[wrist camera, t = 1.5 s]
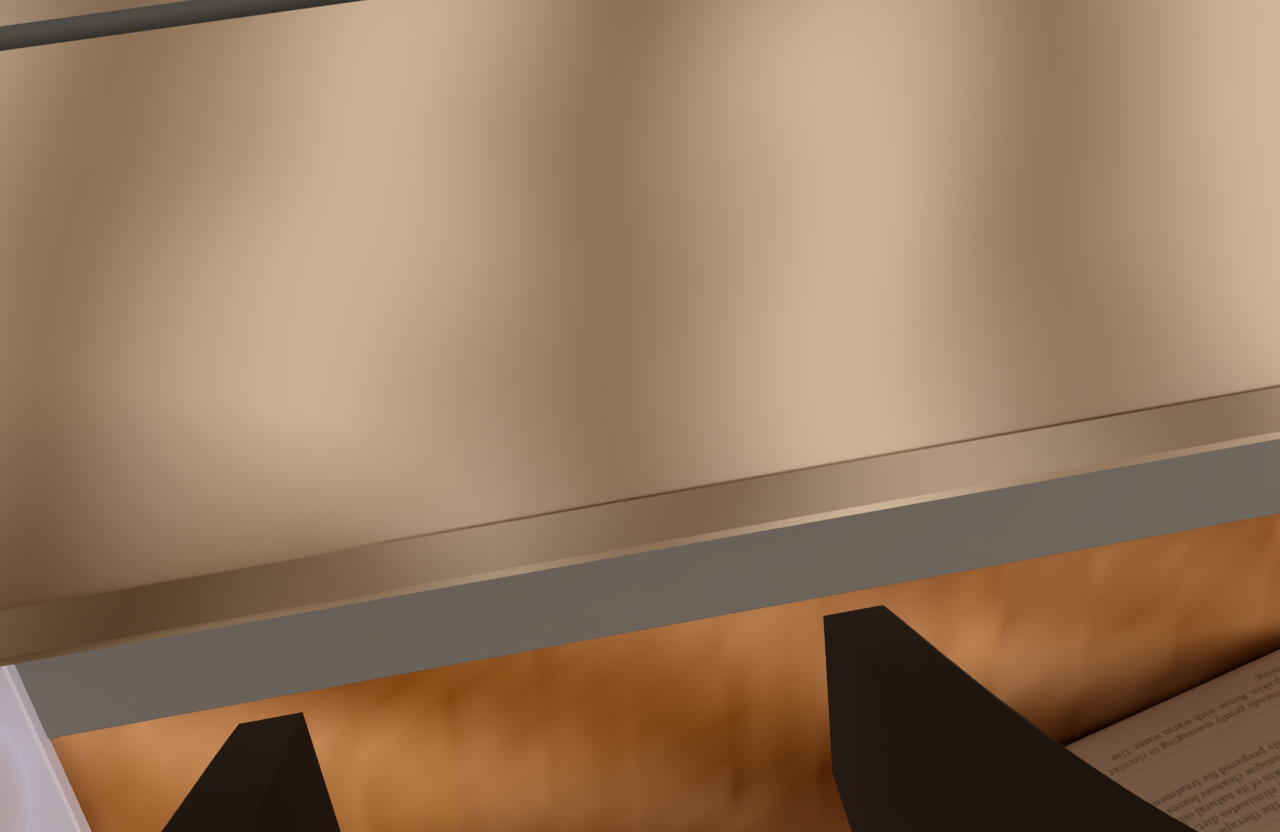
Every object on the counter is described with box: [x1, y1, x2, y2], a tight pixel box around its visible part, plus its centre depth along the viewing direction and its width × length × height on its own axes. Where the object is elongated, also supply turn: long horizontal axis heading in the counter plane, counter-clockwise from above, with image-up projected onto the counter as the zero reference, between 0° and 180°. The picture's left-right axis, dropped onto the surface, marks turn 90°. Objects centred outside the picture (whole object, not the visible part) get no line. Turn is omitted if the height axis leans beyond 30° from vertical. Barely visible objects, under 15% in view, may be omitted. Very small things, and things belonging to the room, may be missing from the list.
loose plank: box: [0, 0, 1280, 667], centre depth 16 cm, size 22×8×1 cm
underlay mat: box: [0, 0, 1280, 739], centre depth 17 cm, size 26×22×1 cm
